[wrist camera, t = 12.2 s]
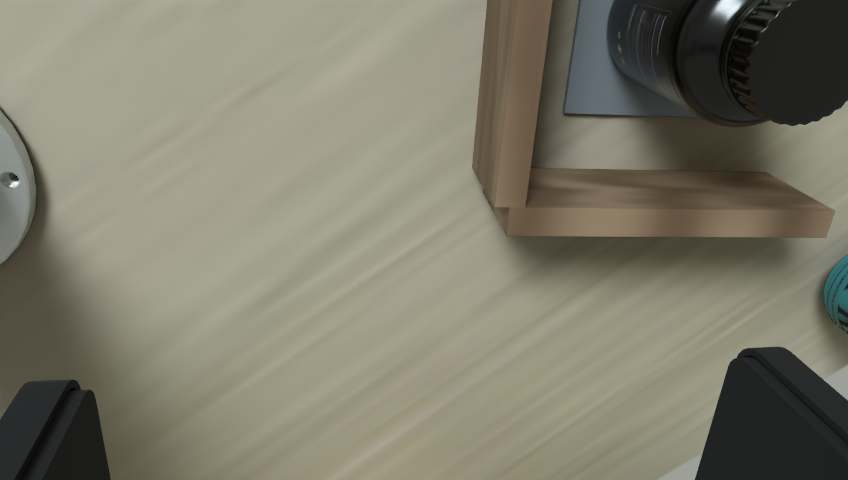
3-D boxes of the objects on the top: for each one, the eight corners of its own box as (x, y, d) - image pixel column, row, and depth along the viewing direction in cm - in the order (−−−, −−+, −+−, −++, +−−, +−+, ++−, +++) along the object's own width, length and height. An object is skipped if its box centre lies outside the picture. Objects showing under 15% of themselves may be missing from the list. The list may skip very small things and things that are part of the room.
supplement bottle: (721, -70, 32) (912, -73, 21) (734, 63, 35) (908, 119, 24) (589, -24, 32) (712, -4, 22) (613, 104, 35) (732, 178, 25)
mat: (562, 111, 36) (564, 113, 35) (592, -93, 31) (594, -93, 31) (732, 117, 37) (735, 118, 37) (783, -80, 33) (787, -80, 32)
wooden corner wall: (470, 192, 37) (491, 235, 32) (505, -194, 29) (541, -223, 24) (759, 196, 39) (825, 237, 34) (863, -162, 31) (970, -182, 26)
